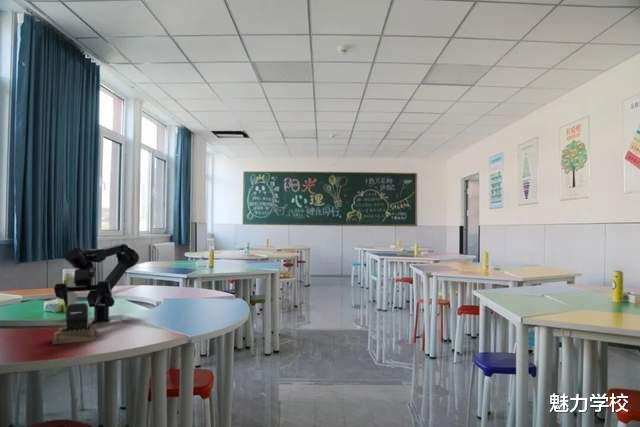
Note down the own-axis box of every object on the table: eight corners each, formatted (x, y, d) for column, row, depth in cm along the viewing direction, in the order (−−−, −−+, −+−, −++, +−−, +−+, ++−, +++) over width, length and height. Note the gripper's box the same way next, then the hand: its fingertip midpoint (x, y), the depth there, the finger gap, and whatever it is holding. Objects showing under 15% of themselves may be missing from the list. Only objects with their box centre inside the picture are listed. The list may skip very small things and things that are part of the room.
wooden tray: (58, 337, 149) (58, 327, 149) (98, 333, 154) (98, 324, 154) (51, 344, 139) (51, 334, 139) (94, 340, 144) (94, 330, 144)
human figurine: (86, 312, 192) (87, 275, 192) (87, 314, 188) (88, 275, 189) (56, 316, 185) (57, 277, 185) (57, 317, 181) (57, 278, 182)
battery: (64, 337, 144) (65, 305, 144) (66, 335, 147) (66, 303, 147) (87, 335, 146) (87, 303, 147) (88, 332, 150) (88, 302, 150)
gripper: (55, 262, 156) (48, 296, 145) (109, 260, 163) (106, 292, 152) (59, 280, 163) (53, 313, 152) (111, 277, 170) (108, 309, 159)
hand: (80, 306), depth 154 cm, fingers open, 9 cm apart
